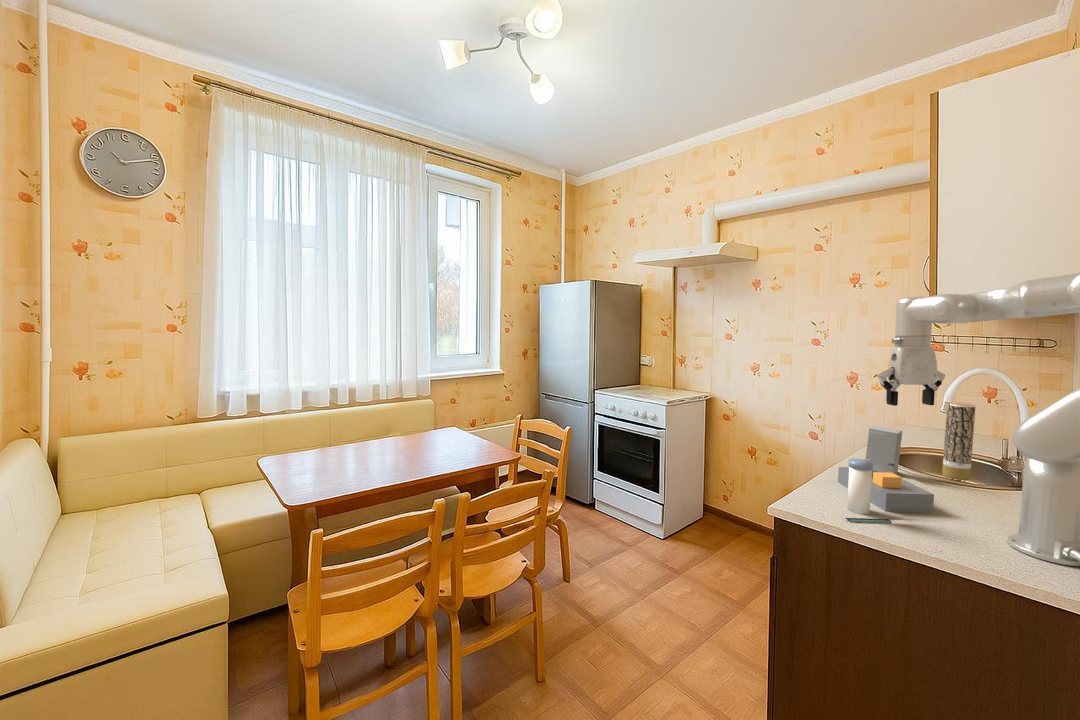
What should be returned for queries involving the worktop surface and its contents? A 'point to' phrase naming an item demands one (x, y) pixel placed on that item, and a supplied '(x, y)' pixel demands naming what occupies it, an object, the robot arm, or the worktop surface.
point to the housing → (895, 495)
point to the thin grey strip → (869, 520)
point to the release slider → (887, 480)
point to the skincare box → (884, 448)
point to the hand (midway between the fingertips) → (909, 404)
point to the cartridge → (859, 486)
